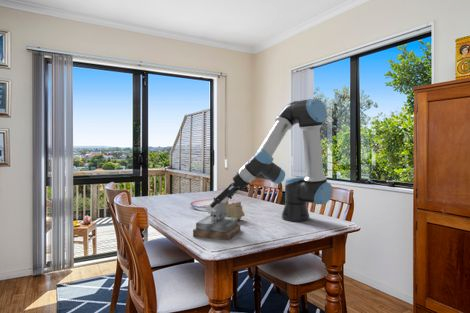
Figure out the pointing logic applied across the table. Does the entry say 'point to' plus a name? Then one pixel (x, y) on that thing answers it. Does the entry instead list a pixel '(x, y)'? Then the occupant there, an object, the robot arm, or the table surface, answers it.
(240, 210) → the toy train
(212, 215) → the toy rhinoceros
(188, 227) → the table surface
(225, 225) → the brick stand
